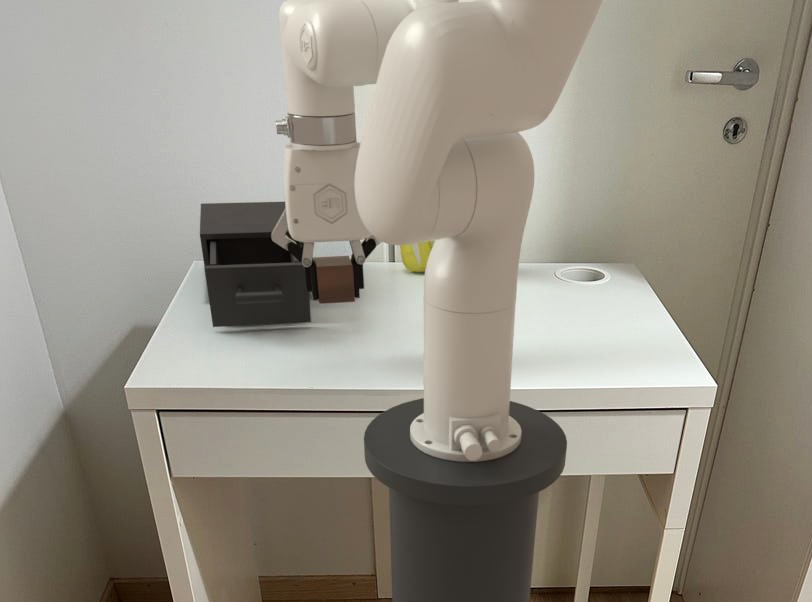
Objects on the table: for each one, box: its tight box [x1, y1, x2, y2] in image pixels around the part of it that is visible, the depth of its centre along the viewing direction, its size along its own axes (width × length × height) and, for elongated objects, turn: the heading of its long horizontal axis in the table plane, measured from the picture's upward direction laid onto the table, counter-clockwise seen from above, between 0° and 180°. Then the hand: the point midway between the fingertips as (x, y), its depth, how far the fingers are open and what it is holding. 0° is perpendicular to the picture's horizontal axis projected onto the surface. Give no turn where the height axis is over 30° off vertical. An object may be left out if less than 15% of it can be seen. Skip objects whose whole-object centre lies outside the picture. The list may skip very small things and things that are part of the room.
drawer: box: [203, 237, 312, 328], centre depth 128 cm, size 21×13×8 cm, turn 12°
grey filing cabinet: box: [199, 201, 302, 267], centre depth 140 cm, size 18×15×10 cm
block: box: [313, 255, 356, 305], centre depth 113 cm, size 4×4×4 cm
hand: (335, 294), depth 114 cm, fingers closed on block, 4 cm apart
